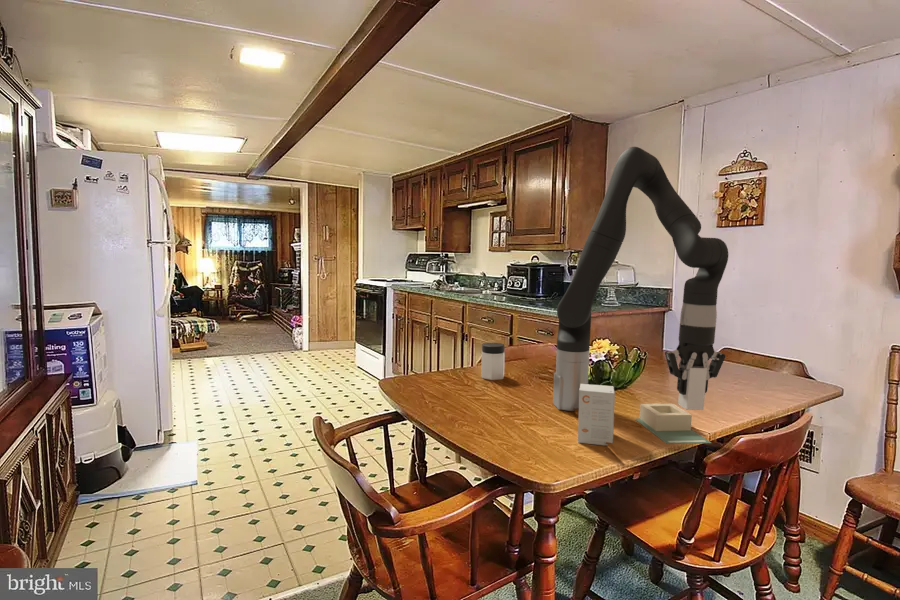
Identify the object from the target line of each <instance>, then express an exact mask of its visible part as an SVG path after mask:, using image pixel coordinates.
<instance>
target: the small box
mask: <svg viewBox="0 0 900 600" xmlns="http://www.w3.org/2000/svg"><path fill="white" fill-rule="evenodd" d="M615 396H616V392H615V387H614V386H613V385H604V384H603V385H601V384H590V383H588V384H580V389H579V408H578V421H577V423H578V427H577V428H578V429H577V442H578V443H579V444H587V445H588V444H589V445H598V446H607V447H609V444H608V443H610V444H613V443H614V427H615V426H614V425H615V402H616V401H615V399H616V397H615Z"/></svg>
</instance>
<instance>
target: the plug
mask: <svg viewBox="0 0 900 600" xmlns="http://www.w3.org/2000/svg"><path fill="white" fill-rule="evenodd" d="M685 366H686V364H685ZM706 376H707V368H704V367H703V366H697V365H695V366H692V368H690V370H689V371H688V376H687V379H686V380H687V389H686V395H682V394H680V393H679V392H678V399H677V400H678V402H677V404H678V405H679V406H680V407H681V408H682V409H685V410H686V411H687V410H689V411H704V407H705V395H706V393H705V387H706Z"/></svg>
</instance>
